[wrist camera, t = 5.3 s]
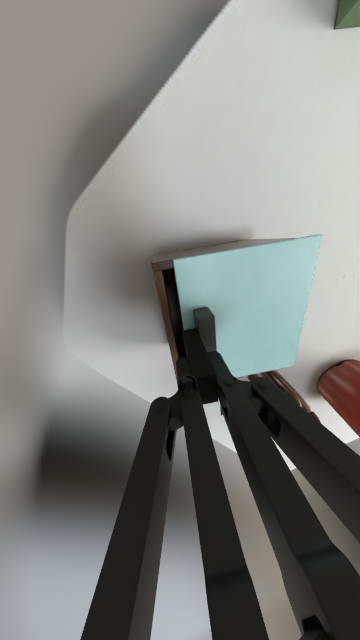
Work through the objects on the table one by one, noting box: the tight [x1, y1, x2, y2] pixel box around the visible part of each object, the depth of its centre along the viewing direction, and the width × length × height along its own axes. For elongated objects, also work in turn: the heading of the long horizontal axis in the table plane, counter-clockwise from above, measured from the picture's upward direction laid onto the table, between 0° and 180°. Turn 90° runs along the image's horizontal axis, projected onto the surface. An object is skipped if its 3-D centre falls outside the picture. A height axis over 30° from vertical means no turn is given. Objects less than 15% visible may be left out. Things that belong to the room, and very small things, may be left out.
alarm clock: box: [248, 370, 321, 423], centre depth 30 cm, size 11×5×15 cm, turn 47°
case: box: [152, 238, 295, 382], centre depth 23 cm, size 16×14×10 cm
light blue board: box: [173, 235, 322, 378], centre depth 17 cm, size 16×14×3 cm
